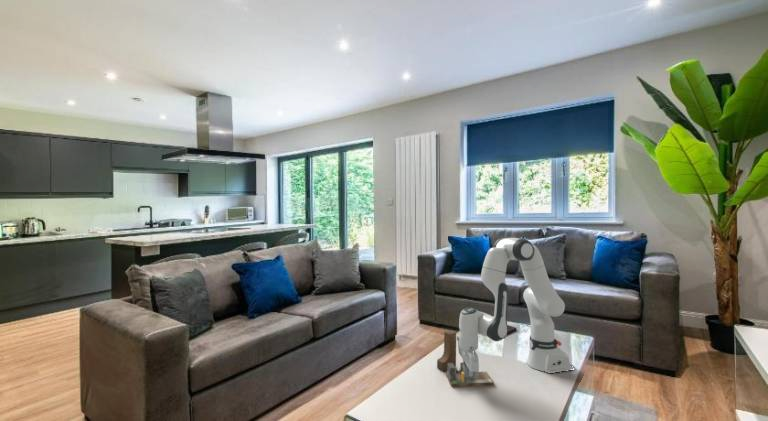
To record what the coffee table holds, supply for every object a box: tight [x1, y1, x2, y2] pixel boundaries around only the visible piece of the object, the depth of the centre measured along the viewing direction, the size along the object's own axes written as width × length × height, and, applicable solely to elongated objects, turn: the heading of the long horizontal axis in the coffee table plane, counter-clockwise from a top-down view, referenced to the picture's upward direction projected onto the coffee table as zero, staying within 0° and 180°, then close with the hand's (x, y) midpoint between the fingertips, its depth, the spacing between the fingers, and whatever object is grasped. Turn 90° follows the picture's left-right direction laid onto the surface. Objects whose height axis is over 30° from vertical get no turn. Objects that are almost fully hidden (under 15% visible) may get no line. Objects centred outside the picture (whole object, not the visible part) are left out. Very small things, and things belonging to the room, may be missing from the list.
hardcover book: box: [479, 324, 518, 336], centre depth 228 cm, size 16×23×2 cm
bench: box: [445, 363, 495, 388], centre depth 167 cm, size 20×10×8 cm, turn 94°
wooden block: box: [436, 329, 457, 372], centre depth 179 cm, size 9×4×18 cm, turn 122°
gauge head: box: [455, 362, 476, 382], centre depth 165 cm, size 8×8×6 cm
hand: (468, 372), depth 167 cm, fingers closed on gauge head, 5 cm apart
